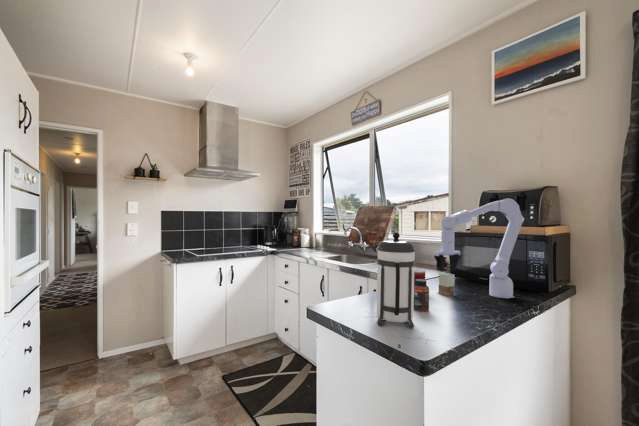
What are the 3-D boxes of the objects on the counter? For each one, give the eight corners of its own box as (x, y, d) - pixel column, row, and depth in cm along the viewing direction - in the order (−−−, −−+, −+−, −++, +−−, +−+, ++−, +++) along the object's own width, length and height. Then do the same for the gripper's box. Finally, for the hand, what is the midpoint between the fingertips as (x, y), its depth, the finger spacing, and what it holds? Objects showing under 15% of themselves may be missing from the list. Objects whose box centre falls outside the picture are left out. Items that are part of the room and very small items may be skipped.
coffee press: (360, 318, 104) (362, 231, 104) (395, 311, 112) (396, 230, 112) (396, 336, 89) (398, 235, 89) (433, 327, 97) (435, 234, 97)
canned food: (422, 292, 141) (423, 268, 141) (426, 297, 133) (427, 272, 133) (405, 291, 141) (406, 268, 141) (409, 296, 133) (409, 271, 133)
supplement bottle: (429, 308, 116) (430, 279, 116) (428, 313, 111) (428, 282, 111) (413, 306, 119) (414, 277, 119) (411, 310, 113) (411, 280, 113)
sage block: (446, 283, 138) (446, 272, 138) (454, 286, 134) (454, 274, 134) (439, 284, 136) (439, 273, 136) (447, 286, 132) (447, 275, 132)
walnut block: (445, 292, 138) (445, 283, 138) (453, 294, 134) (454, 285, 134) (438, 293, 136) (438, 284, 136) (446, 295, 132) (446, 286, 132)
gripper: (452, 240, 150) (451, 268, 150) (430, 241, 144) (429, 269, 144) (464, 242, 144) (463, 270, 144) (441, 242, 138) (440, 272, 138)
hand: (447, 270), depth 144 cm, fingers open, 7 cm apart
